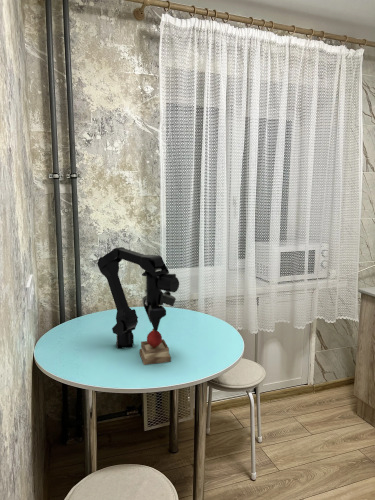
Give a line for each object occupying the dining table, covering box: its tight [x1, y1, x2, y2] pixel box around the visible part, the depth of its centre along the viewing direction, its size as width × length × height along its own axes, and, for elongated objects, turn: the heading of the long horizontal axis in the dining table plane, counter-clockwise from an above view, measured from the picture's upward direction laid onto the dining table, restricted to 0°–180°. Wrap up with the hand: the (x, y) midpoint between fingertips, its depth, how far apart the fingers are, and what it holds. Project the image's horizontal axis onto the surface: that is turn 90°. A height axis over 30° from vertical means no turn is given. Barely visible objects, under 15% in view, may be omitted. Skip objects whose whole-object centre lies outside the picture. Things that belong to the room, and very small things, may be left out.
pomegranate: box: [146, 328, 163, 348], centre depth 146 cm, size 6×6×8 cm
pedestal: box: [138, 338, 172, 366], centre depth 146 cm, size 10×10×5 cm
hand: (153, 326), depth 147 cm, fingers open, 9 cm apart
